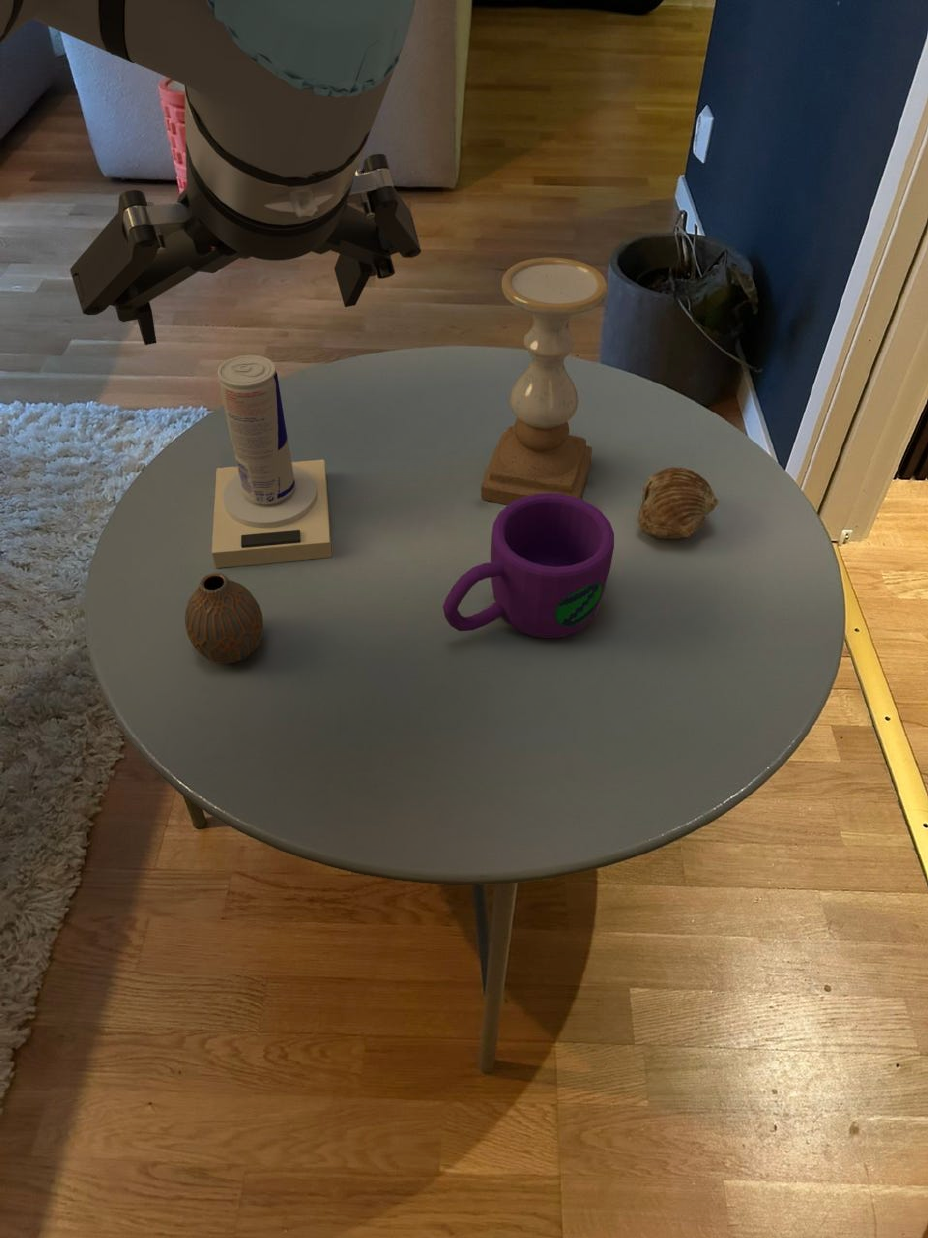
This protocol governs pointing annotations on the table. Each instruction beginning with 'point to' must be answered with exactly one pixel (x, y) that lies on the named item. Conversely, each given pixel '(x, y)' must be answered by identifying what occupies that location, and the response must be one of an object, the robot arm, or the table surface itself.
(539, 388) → the candle holder
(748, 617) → the table surface
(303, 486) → the kitchen scale
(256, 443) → the beverage can
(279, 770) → the table surface
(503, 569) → the mug
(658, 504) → the seashell
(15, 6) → the robot arm
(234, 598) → the vase
